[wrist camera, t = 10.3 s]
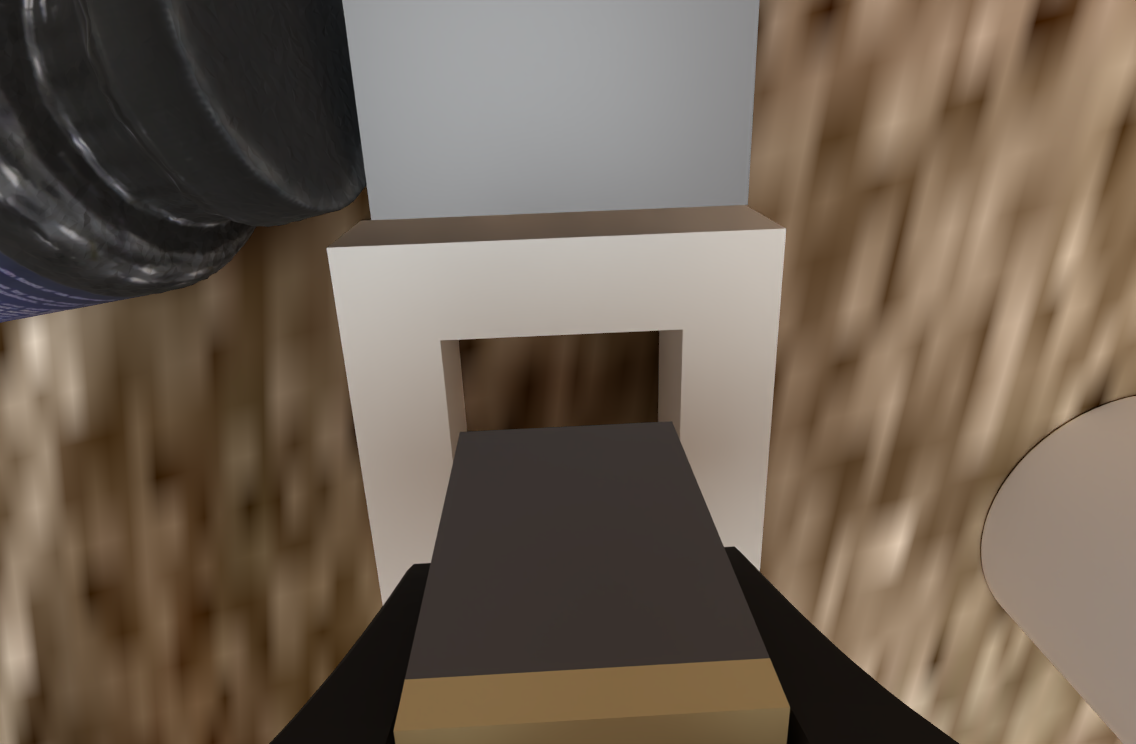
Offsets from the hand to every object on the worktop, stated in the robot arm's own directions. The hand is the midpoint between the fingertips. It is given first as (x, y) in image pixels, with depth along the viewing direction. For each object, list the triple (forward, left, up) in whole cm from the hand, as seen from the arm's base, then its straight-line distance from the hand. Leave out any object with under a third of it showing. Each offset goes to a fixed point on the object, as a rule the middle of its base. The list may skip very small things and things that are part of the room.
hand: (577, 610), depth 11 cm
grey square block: (+8, 0, -5) cm, 10 cm away
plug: (0, 0, -2) cm, 2 cm away
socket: (0, 0, -8) cm, 8 cm away
